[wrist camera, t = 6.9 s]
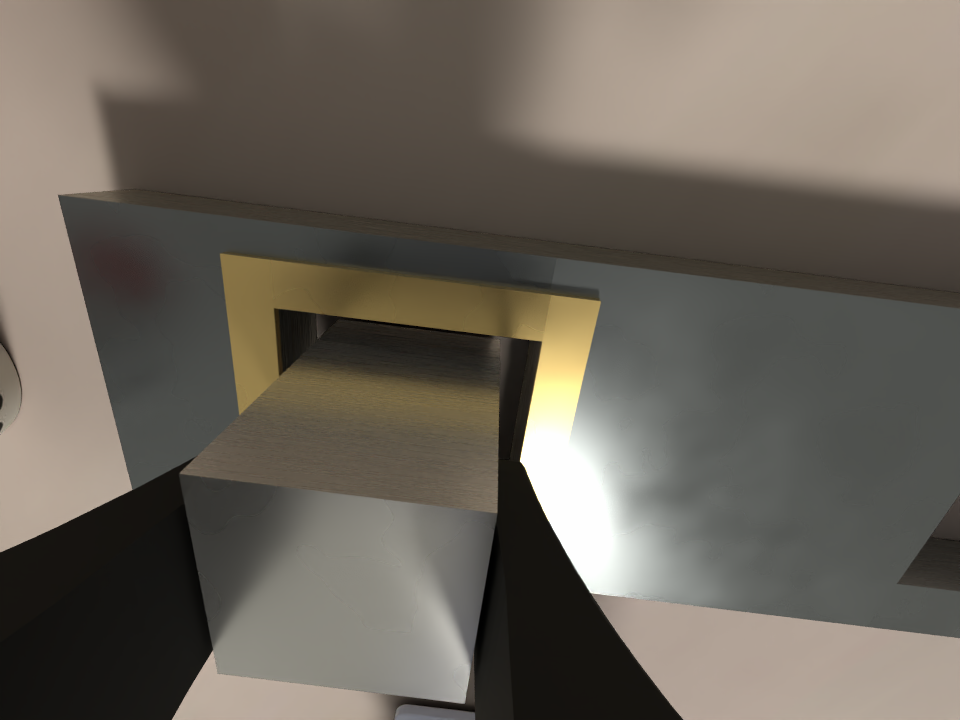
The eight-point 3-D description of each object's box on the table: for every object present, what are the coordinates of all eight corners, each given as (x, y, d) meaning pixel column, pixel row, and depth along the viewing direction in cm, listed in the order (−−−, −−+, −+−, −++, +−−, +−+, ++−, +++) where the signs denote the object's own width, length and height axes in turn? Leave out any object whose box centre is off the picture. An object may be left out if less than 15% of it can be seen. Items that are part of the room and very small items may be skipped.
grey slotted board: (1122, 604, 14) (1223, 676, 12) (190, 490, 14) (139, 544, 12) (1384, 346, 11) (1587, 389, 9) (134, 189, 11) (48, 195, 9)
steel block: (481, 469, 13) (464, 704, 7) (340, 452, 13) (217, 673, 7) (499, 339, 11) (497, 513, 6) (339, 318, 11) (178, 474, 6)
